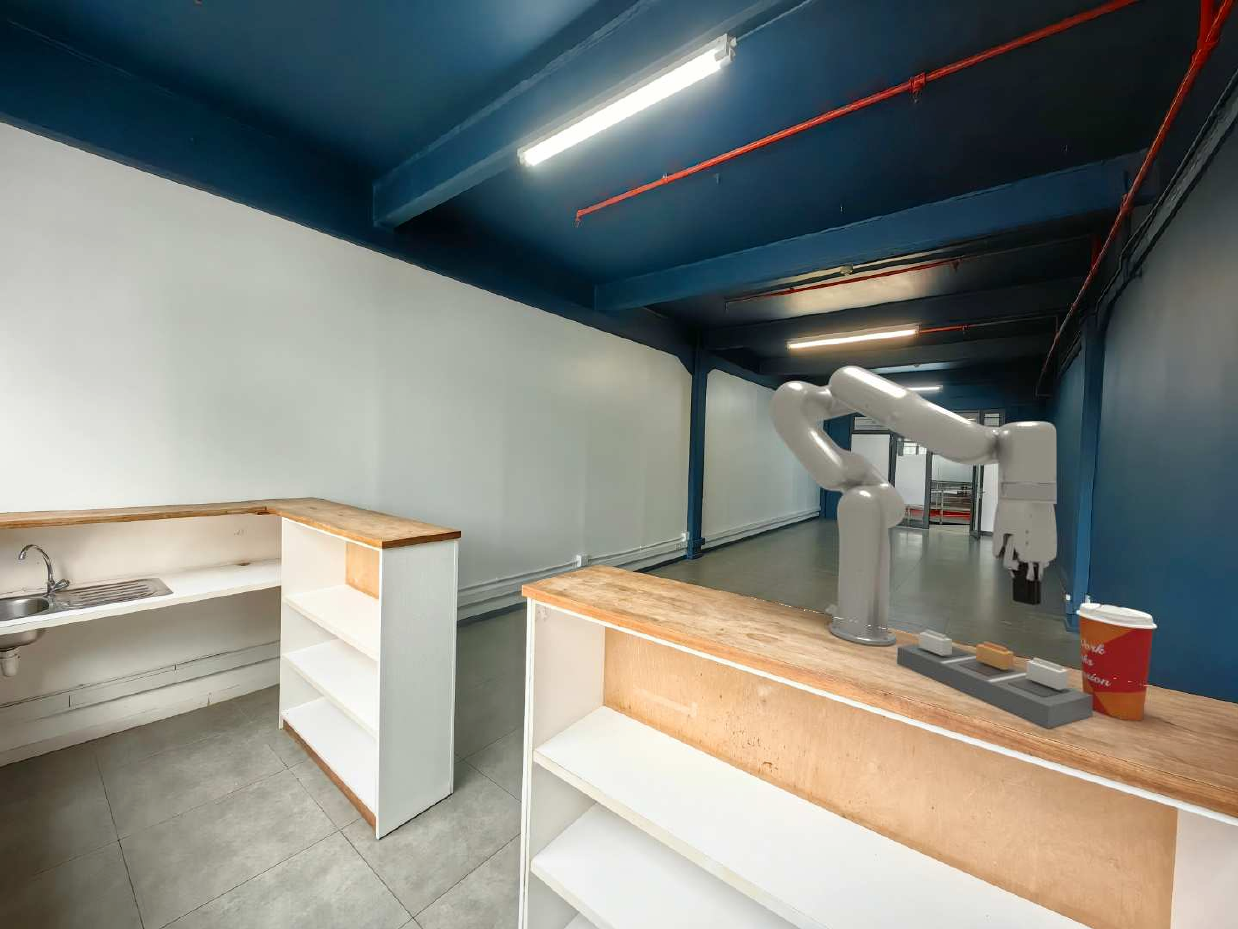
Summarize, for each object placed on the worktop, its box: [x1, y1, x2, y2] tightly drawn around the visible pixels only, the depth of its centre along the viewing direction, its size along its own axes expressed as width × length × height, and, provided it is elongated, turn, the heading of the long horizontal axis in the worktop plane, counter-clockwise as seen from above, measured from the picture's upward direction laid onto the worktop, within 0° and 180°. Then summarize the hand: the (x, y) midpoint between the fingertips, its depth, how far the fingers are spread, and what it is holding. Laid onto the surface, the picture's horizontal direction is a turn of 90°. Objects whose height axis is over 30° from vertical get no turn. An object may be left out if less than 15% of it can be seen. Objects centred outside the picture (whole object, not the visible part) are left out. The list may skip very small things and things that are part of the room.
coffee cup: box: [1075, 602, 1158, 722], centre depth 69 cm, size 8×8×15 cm
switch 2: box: [975, 641, 1015, 670], centre depth 76 cm, size 4×2×3 cm, turn 22°
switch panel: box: [896, 643, 1093, 730], centre depth 75 cm, size 22×11×3 cm, turn 22°
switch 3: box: [1025, 657, 1070, 690], centre depth 69 cm, size 4×2×3 cm, turn 22°
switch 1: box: [918, 629, 953, 656], centre depth 81 cm, size 4×2×3 cm, turn 22°
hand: (1026, 602), depth 78 cm, fingers closed
